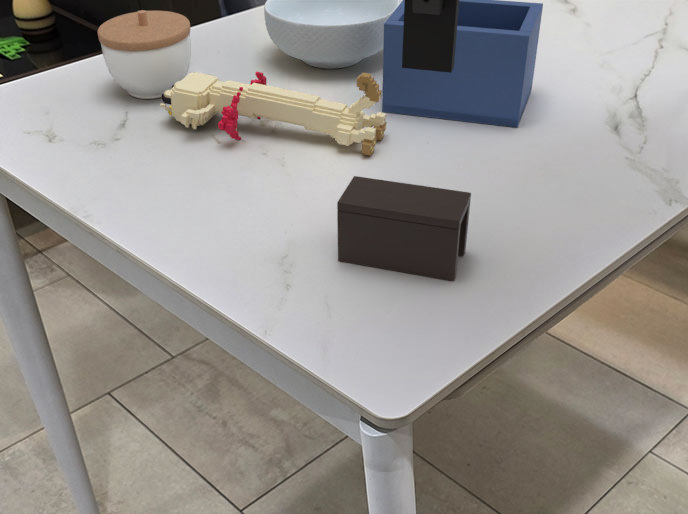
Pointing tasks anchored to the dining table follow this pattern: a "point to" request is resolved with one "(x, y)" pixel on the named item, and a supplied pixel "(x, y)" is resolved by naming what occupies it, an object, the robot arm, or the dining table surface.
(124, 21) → the trinket box
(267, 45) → the dining table surface
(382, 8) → the cereal bowl
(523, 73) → the blue box
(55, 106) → the dining table surface
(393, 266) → the dark brown block
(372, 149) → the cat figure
